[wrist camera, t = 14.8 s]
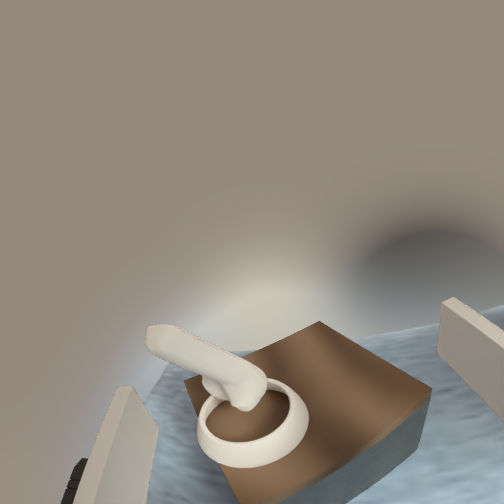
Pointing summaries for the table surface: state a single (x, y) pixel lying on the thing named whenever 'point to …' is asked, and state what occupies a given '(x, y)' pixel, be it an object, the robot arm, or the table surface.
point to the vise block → (322, 420)
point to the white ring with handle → (230, 396)
